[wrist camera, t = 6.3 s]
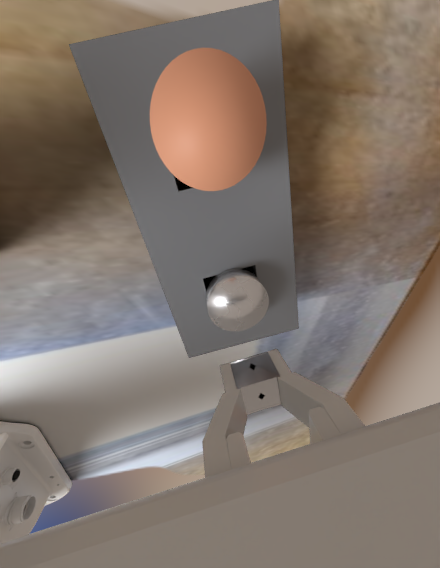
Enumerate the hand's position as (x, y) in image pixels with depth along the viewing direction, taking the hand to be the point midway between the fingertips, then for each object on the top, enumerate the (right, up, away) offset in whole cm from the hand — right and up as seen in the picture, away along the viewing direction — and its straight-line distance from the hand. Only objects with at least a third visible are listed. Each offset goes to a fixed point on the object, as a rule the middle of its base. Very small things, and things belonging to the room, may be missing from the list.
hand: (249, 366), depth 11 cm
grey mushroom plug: (-1, +5, +10) cm, 11 cm away
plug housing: (-2, +10, +8) cm, 13 cm away
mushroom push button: (-3, +13, +3) cm, 13 cm away
